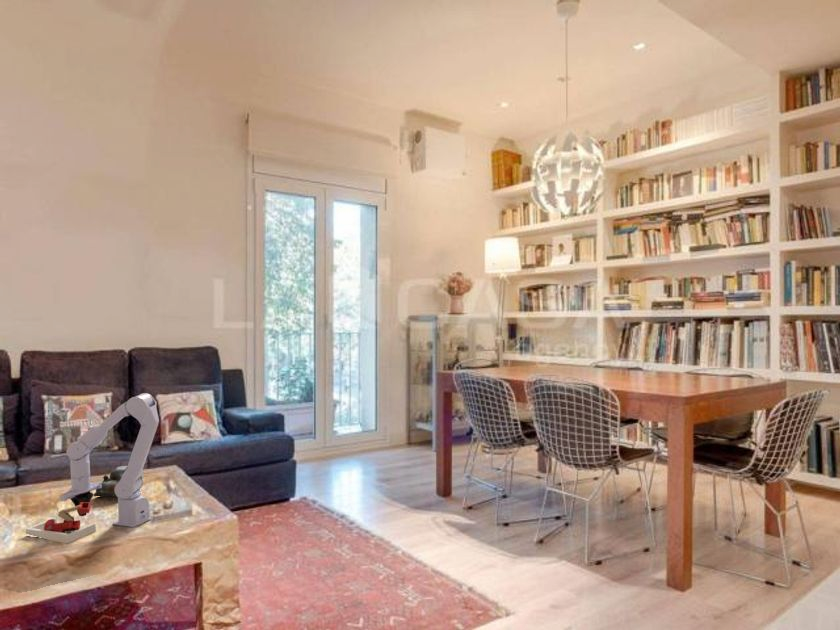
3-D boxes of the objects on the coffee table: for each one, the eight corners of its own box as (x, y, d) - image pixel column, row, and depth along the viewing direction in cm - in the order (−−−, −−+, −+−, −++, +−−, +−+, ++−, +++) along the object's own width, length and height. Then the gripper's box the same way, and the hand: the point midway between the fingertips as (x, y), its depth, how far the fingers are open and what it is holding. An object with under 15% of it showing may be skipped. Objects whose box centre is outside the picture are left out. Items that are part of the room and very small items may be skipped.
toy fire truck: (46, 530, 194) (42, 506, 190) (93, 523, 198) (90, 500, 195) (43, 537, 191) (39, 513, 187) (91, 530, 195) (88, 507, 192)
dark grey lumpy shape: (90, 496, 231) (104, 461, 237) (122, 503, 236) (134, 468, 243) (96, 494, 219) (110, 457, 225) (129, 501, 225) (142, 465, 231)
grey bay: (95, 531, 195) (95, 523, 195) (68, 543, 185) (68, 535, 185) (54, 525, 201) (54, 518, 201) (26, 536, 192) (25, 528, 192)
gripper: (90, 469, 209) (92, 507, 209) (52, 481, 195) (54, 521, 195) (105, 470, 206) (107, 508, 206) (67, 482, 193) (69, 523, 193)
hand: (82, 515), depth 201 cm, fingers closed
